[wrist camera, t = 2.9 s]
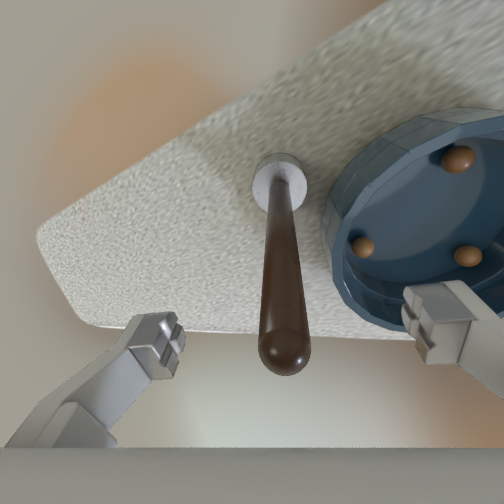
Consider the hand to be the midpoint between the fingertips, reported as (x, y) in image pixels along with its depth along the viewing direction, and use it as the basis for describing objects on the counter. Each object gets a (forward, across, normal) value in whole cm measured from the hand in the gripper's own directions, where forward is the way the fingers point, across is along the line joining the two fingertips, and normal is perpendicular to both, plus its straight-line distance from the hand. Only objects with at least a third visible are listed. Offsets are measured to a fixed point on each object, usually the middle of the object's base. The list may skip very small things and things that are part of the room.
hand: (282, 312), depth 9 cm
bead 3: (+14, -16, +10) cm, 24 cm away
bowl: (+16, -12, +6) cm, 21 cm away
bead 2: (+14, -14, 0) cm, 20 cm away
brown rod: (+16, 0, 0) cm, 16 cm away
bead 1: (+14, -7, +7) cm, 17 cm away
